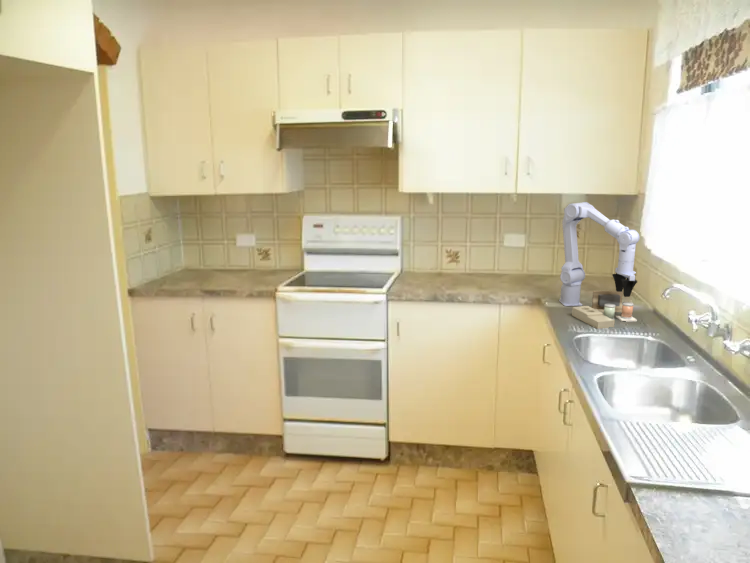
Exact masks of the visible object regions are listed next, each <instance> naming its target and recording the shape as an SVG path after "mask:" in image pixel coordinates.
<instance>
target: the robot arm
mask: <svg viewBox="0 0 750 563" xmlns="http://www.w3.org/2000/svg"><path fill="white" fill-rule="evenodd" d="M563 214H564V215H563V218H562V223H561V224H562V235H563V236H562V237H563V250H564V263H563V265H562V266H561V268H560V269H561V273H560V275H559V276H560V281H561V282H562V283H561V284H562V285H560V286H561V287H560V297H559V301H558V302H559V303H560V304H562V305H563V306H564V307H579V306H584V304H583V303H581V302H580V300H581V288H582V287H581V286H582V285H583V284H582V283H583V281H584V280H585V278H586V272H585V270H584V266H583V264H582V263H581V262H580V260H579V248H578V245H579V244H578V232H577V231H578V230H577V225H578V224H579V222H581V221H582V220H583V219H585V218H589V219H591V220H592V221H594V222H596V224H599V225H601V226H602V227H604V231H605V232H606V233H607V234H608V235H610V236H611V237H613V238H615V239H616V240H617V243H618V245H619V247H618V248H619V252H618V262H617V267H615V270H614V271H615V273H612V275H611V276H612V277H613V281H614V285H615V291H617V292H622V291H623V297H624V298H630V297H631V294H632V292H633V289H634V288H635V286H636V285H637V283H638V280H637V279H636V275H635V274H637V272H636V271H635V270H634V266H635V257H636V256H635V255H636V246H637V244H638V243H639V241H640V238H641V237H640V234H639V232H638V231H637V230H636V229H630V228H629V226H626V225H623V224H622V223H620V220H619V219H610V218H608V217H606V216H605V215H604V214H603V213H602V212H600V211H599V210H598V209H596V207H594V205H593V204H590V202H587V201H583V202H575V203H574V202H573V203H569V204H568V205H567V206H566V207H565V208H564V211H563Z"/></svg>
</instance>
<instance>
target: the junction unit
mask: <svg viewBox="0 0 750 563" xmlns="http://www.w3.org/2000/svg"><path fill="white" fill-rule="evenodd" d="M623 297H624V294H623V290H622V292H617V291H616V290H593V291H592V298H591V300H592V301H591V306H590V307H591V308H594V309H596V310H598V311H600V312H602V313H604V306H605V304H607V303H610V304H615V313H622V303H623Z"/></svg>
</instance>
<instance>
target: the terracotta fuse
mask: <svg viewBox="0 0 750 563" xmlns="http://www.w3.org/2000/svg"><path fill="white" fill-rule="evenodd" d="M621 308H622V312H620V313H621V314H620V316H621V318H623V319H632V317H633V311H634V302H631V301H622V307H621Z"/></svg>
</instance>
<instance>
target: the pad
mask: <svg viewBox="0 0 750 563" xmlns="http://www.w3.org/2000/svg"><path fill="white" fill-rule="evenodd" d="M615 318H616V319H617V320H619V321H621V322H622V321H626V322H627V323H628V322H629V323H630V322H638V319H637V318H635V317H633V316H632V319H623V318H621V315H615ZM626 322H625V323H626Z"/></svg>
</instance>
